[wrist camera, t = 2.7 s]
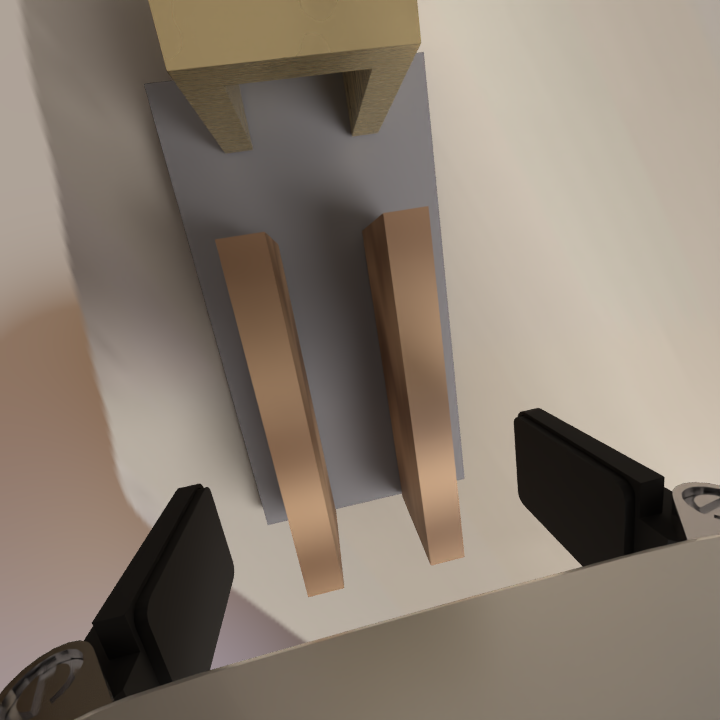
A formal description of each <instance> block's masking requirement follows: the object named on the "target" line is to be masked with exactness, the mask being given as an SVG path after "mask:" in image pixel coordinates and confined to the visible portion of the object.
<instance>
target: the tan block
mask: <svg viewBox="0 0 720 720" xmlns="http://www.w3.org/2000/svg"><path fill="white" fill-rule="evenodd" d="M148 2H149V5H150V9H151V13H152V17H153V20H154V24H155V28H156V32H157V36H158V39H159V43H160V47H161V51H162V55H163V58H164V62H165V66H166V70H167V72H168V73H169V75H170V76H171V78H172V79H173V80H174V82H175V83H176V85H177V86H178V87H179V89H180V90H181V92H182V93H183V94H184V96H185V97H186V99H187V100H188V102H189V103H190V104H191V106H192V107H193V109H194V110H195V111H196V113H197V114H198V116H199V117H200V118H201V120H202V121H203V123H204V124H205V126H206V127H207V128H208V130H209V131H210V133H211V134H212V135H213V137H214V138H215V140H216V141H217V142H218V144H219V145H220V147H221V148H222V149H223V151H224V152H225V154H226V153H233V152H241V151H248V150H253V146H252V142H251V137H250V133H249V128H248V124H247V119H246V114H245V110H244V105H243V101H242V96H241V92H240V87H239V84H244V83H253V82H262V81H270V80H279V79H287V78H296V77H304V76H313V75H322V74H330V73H339V72H342V73H343V80H344V87H345V93H346V100H347V107H348V113H349V120H350V127H351V133H352V136H360V135H367V134H375V133H378V132H379V130H380V128H381V126H382V124H383V122H384V119H385V117H386V115H387V113H388V111H389V109H390V107H391V105H392V103H393V101H394V98H395V96H396V94H397V92H398V90H399V88H400V86H401V84H402V82H403V80H404V77H405V75H406V73H407V71H408V69H409V67H410V65H411V63H412V61H413V59H414V57H415V54H416V52H417V50H418V48H419V46H420V44H421V37H420V27H419V16H418V6H417V0H148Z"/></svg>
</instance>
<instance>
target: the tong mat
mask: <svg viewBox="0 0 720 720" xmlns="http://www.w3.org/2000/svg"><path fill="white" fill-rule="evenodd" d="M144 86H145V90H146V93H147V97H148V100H149V104H150V107H151V111H152V114H153V118H154V122H155V125H156V129H157V132H158V136H159V139H160V143H161V146H162V150H163V154H164V157H165V161H166V164H167V168H168V171H169V175H170V179H171V182H172V186H173V189H174V193H175V196H176V200H177V203H178V207H179V211H180V214H181V218H182V221H183V225H184V228H185V232H186V235H187V239H188V243H189V246H190V250H191V253H192V257H193V260H194V264H195V267H196V271H197V275H198V278H199V282H200V285H201V289H202V292H203V296H204V299H205V303H206V307H207V310H208V314H209V317H210V321H211V324H212V328H213V331H214V335H215V339H216V342H217V346H218V349H219V353H220V356H221V360H222V363H223V367H224V371H225V374H226V378H227V381H228V385H229V388H230V392H231V396H232V399H233V403H234V406H235V410H236V413H237V417H238V420H239V424H240V428H241V431H242V435H243V438H244V442H245V445H246V449H247V452H248V456H249V460H250V463H251V467H252V470H253V474H254V477H255V481H256V484H257V488H258V492H259V495H260V499H261V502H262V506H263V509H264V513H265V516H266V520H267V524H268V525H270V524H274V523H279V522H283V521H287V520H288V517H287V514H286V510H285V506H284V502H283V498H282V494H281V491H280V487H279V483H278V479H277V475H276V471H275V468H274V464H273V460H272V456H271V452H270V448H269V445H268V441H267V437H266V433H265V429H264V426H263V422H262V418H261V414H260V410H259V406H258V403H257V399H256V395H255V391H254V387H253V383H252V380H251V376H250V372H249V368H248V364H247V360H246V357H245V353H244V349H243V345H242V341H241V337H240V334H239V330H238V326H237V322H236V318H235V314H234V311H233V307H232V303H231V299H230V295H229V292H228V288H227V284H226V280H225V276H224V272H223V269H222V265H221V261H220V257H219V253H218V249H217V246H216V242H215V239H221V238H228V237H234V236H240V235H247V234H253V233H259V232H265V233H266V234H268V235H269V236H270V237H271V238H272V239H273V240H274V241H275V242H276V243H277V244H278V245H279V250H280V254H281V259H282V263H283V268H284V273H285V277H286V282H287V287H288V291H289V296H290V301H291V305H292V310H293V314H294V319H295V324H296V328H297V333H298V338H299V342H300V347H301V352H302V356H303V361H304V366H305V370H306V375H307V379H308V384H309V389H310V393H311V398H312V403H313V407H314V412H315V417H316V421H317V426H318V430H319V435H320V440H321V444H322V449H323V454H324V458H325V463H326V468H327V472H328V477H329V481H330V486H331V491H332V495H333V500H334V505H335V509H338V508H342V507H347V506H351V505H355V504H359V503H364V502H368V501H372V500H376V499H381V498H385V497H389V496H393V495H398V494H402V490H401V483H400V477H399V470H398V463H397V457H396V450H395V444H394V437H393V431H392V424H391V418H390V411H389V405H388V398H387V392H386V385H385V378H384V372H383V365H382V359H381V352H380V346H379V339H378V333H377V326H376V320H375V313H374V307H373V300H372V293H371V287H370V280H369V274H368V267H367V261H366V254H365V248H364V241H363V235H362V230H364V229H365V228H366V227H367V226H368V225H370V224H371V223H372V222H373V221H374V220H376V219H377V218H378V217H379V216H380V215H381V214H383V213H387V212H393V211H400V210H406V209H412V208H419V207H425V206H429V216H430V226H431V236H432V245H433V255H434V265H435V275H436V284H437V294H438V304H439V313H440V323H441V333H442V343H443V352H444V362H445V372H446V382H447V391H448V401H449V411H450V420H451V430H452V440H453V450H454V459H455V469H456V479H457V480H461V479H464V468H463V458H462V448H461V437H460V427H459V416H458V406H457V395H456V385H455V374H454V364H453V353H452V343H451V333H450V322H449V312H448V301H447V291H446V280H445V270H444V259H443V249H442V239H441V228H440V218H439V207H438V197H437V186H436V176H435V165H434V155H433V145H432V134H431V124H430V113H429V103H428V92H427V82H426V71H425V61H424V52H420V53H416V54H415V57H414V59H413V61H412V63H411V65H410V67H409V69H408V71H407V73H406V75H405V77H404V80H403V82H402V84H401V86H400V88H399V90H398V92H397V94H396V96H395V98H394V101H393V103H392V105H391V107H390V109H389V111H388V113H387V115H386V117H385V119H384V122H383V124H382V126H381V128H380V130H379V132H378V133H375V134H367V135H360V136H352V133H351V127H350V120H349V113H348V107H347V100H346V93H345V87H344V80H343V73H342V72H339V73H330V74H322V75H313V76H304V77H296V78H287V79H279V80H270V81H262V82H253V83H244V84H239V87H240V92H241V96H242V101H243V105H244V110H245V114H246V119H247V124H248V128H249V133H250V137H251V142H252V146H253V150H248V151H241V152H233V153H226V154H225V152H224V151H223V149H222V148H221V147H220V145H219V144H218V142H217V141H216V140H215V138H214V137H213V135H212V134H211V133H210V131H209V130H208V128H207V127H206V126H205V124H204V123H203V121H202V120H201V118H200V117H199V116H198V114H197V113H196V111H195V110H194V109H193V107H192V106H191V104H190V103H189V102H188V100H187V99H186V97H185V96H184V94H183V93H182V92H181V90H180V89H179V87H178V86H177V85H176V83H175V82H174V81H165V82H156V83H147V84H144Z"/></svg>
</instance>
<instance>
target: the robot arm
mask: <svg viewBox="0 0 720 720" xmlns="http://www.w3.org/2000/svg"><path fill="white" fill-rule="evenodd" d="M514 433H515V450H516V466H517V482H518V494H519V497H520V500H521V502H522V503H523V505H524V506H525V507H526V508H527V509H528V510H529V511H530V512H531V513H532V514H533V515H534V516H535V517H536V518H537V519H538V520H539V521H540V522H541V523H542V525H543V526H544V527H545V528H546V529H547V530H548V531H549V532H550V533H551V534H552V535H553V536H554V537H555V538H556V539H557V540H558V541H559V542H560V543H561V544H562V545H563V546H564V547H565V549H566V550H567V551H568V552H569V553H570V554H571V555H572V556H573V557H574V558H575V559H576V560H577V561H578V562H579V563H580V564H581V565H582V566H583V567H580V568H576V569H572V570H568V571H565V572H561V573H557V574H554V575H550V576H546V577H542V578H539V579H535V580H531V581H527V582H524V583H520V584H516V585H513V586H509V587H505V588H501V589H498V590H494V591H491V592H487V593H483V594H480V595H476V596H472V597H469V598H465V599H461V600H458V601H454V602H451V603H447V604H443V605H440V606H436V607H432V608H429V609H425V610H422V611H418V612H414V613H411V614H407V615H404V616H400V617H396V618H393V619H389V620H386V621H382V622H378V623H375V624H371V625H368V626H364V627H360V628H357V629H353V630H350V631H346V632H343V633H339V634H336V635H332V636H329V637H325V638H322V639H318V640H315V641H311V642H307V643H304V644H300V645H297V646H293V647H290V648H286V649H283V650H280V651H276V652H272V653H269V654H265V655H262V656H259V657H255V658H251V659H248V660H244V661H241V662H237V663H234V664H230V665H227V666H223V667H220V668H216V669H213V670H210V667H211V664H212V659H213V656H214V652H215V648H216V644H217V640H218V636H219V632H220V628H221V625H222V621H223V617H224V613H225V609H226V605H227V602H228V597H229V594H230V590H231V586H232V582H233V578H234V565H233V561H232V558H231V554H230V551H229V548H228V545H227V542H226V538H225V535H224V532H223V529H222V526H221V522H220V519H219V516H218V513H217V510H216V506H215V503H214V500H213V497H212V494H211V491H210V489H209V488H208V487H206V488H203V486H202V485H201V484H196V485H191V486H187V487H182V488H178V489H177V491H176V492H175V494H174V495H173V497H172V498H171V500H170V501H169V503H168V505H167V506H166V508H165V509H164V511H163V512H162V514H161V516H160V517H159V519H158V520H157V522H156V523H155V525H154V526H153V528H152V530H151V531H150V533H149V534H148V536H147V537H146V539H145V541H144V542H143V544H142V545H141V547H140V548H139V550H138V552H137V553H136V555H135V556H134V558H133V559H132V561H131V562H130V564H129V566H128V567H127V569H126V570H125V572H124V573H123V575H122V577H121V578H120V580H119V581H118V583H117V584H116V586H115V587H114V589H113V591H112V592H111V594H110V595H109V597H108V598H107V600H106V602H105V603H104V605H103V606H102V608H101V610H100V611H99V613H98V614H97V616H96V617H95V619H94V620H93V622H92V624H93V627H92V629H91V630H90V632H89V633H88V635H87V637H86V638H85V640H84V641H81V640H79V641H74V642H68V643H66V644H63V645H61V646H59V647H56V648H54V649H52V650H51V651H49V652H47V653H46V654H44V655H42V656H41V657H39V658H38V659H36V660H35V661H34V662H32V663H31V664H30V665H29V666H27V667H26V668H25V669H23V670H22V671H21V672H20V673H19V674H18V675H17V676H16V677H15V678H14V679H13V680H12V681H11V682H10V683H9V684H8V685H7V686H6V687H5V688H4V690H3V691H2V692H1V693H0V720H720V485H715V484H710V483H699V482H692V483H684V484H681V485H678V486H676V487H675V488H674V489H673V491H670V490H668V489H667V488H665V487H664V476H662V475H660V474H658V473H656V472H655V471H653V470H651V469H649V468H647V467H645V466H644V465H642V464H640V463H638V462H636V461H635V460H633V459H631V458H629V457H627V456H626V455H624V454H622V453H620V452H618V451H616V450H615V449H613V448H611V447H609V446H607V445H606V444H604V443H602V442H600V441H598V440H596V439H595V438H593V437H591V436H589V435H587V434H586V433H584V432H582V431H580V430H578V429H577V428H575V427H573V426H571V425H569V424H567V423H566V422H564V421H562V420H560V419H558V418H557V417H555V416H553V415H551V414H549V413H547V412H546V411H544V410H542V409H540V408H536V409H531V410H527V411H522V412H520V413H519V414H518V417H517V418H515V419H514Z"/></svg>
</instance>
